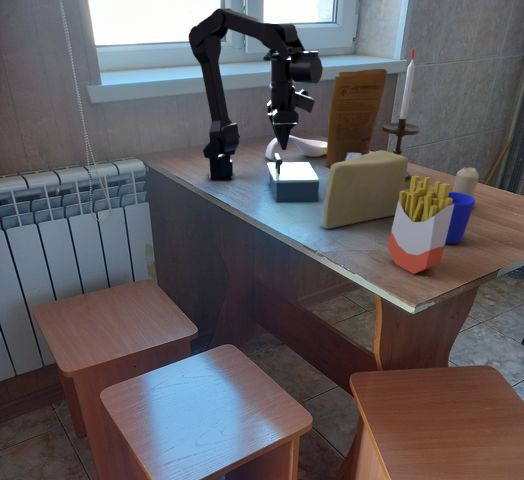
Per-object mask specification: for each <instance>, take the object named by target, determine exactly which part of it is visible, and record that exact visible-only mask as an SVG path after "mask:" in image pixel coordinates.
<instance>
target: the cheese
mask: <svg viewBox="0 0 524 480" xmlns="http://www.w3.org/2000/svg"><path fill="white" fill-rule="evenodd" d="M408 164H409V159H408V157H406V156H404V155H402V154H401V155H398V154H394V153H393V152H391V151H388V150H376V151H372V152H369V154H365V155H362V156H359V157H356V158H353V159H350V160H346V161H343V162H338V163H335V164H333V165H332V166H331V167H330V168H329V173H328V177H327V178H328V179H327V184H326V190H325V195H324V196H325V197H324V204H323V213H322V214H323V215H322V216H323V217H322V228H324V229H326V230H330V229H335V228H340V227H344V226H348V225H353V224H357V223H362V222H367V221H372V220H377V219H382V218H388V217H393V216H394V217H395V213H396V209H397V205H398V200H399V195H400V191H403V190H404V187H405V182H406V180H405V177H406V172H407V171H408V166H409V165H408Z"/></svg>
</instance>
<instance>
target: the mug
mask: <svg viewBox="0 0 524 480" xmlns="http://www.w3.org/2000/svg"><path fill="white" fill-rule="evenodd" d="M449 197H450V198H452V199H453V201H452V203H453V204H454V208H453V212H452V216H451V220H450V225H449V229H448V233H447V237H446V241H445V245H455V244H458V243H459V242H461V241H462V239H463V238H464V235H465V232H466V229H467V227H468V223H469V221H470V218H471V214H472V211H473V209H474V206H475V203H476V199H475V198H474V197H471V196H469V195H466V194H463V193H457V192H453V191H449V195H448V198H449Z"/></svg>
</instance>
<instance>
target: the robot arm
mask: <svg viewBox="0 0 524 480" xmlns="http://www.w3.org/2000/svg"><path fill="white" fill-rule="evenodd" d="M229 30H230V31H233V32H236V33H239V34H242V35H244V36H248V37H250V38H253V39H256V40H258V41H259V42H260V43H261V44H262V46H264V47H265V48H266V49H269V50H268V51H267V53H266V54H265V55H264V56H263V58H262V60H263V61H264V62H270V84H269V90H270V100H269V101H268V103H267V104H266V112H267V116H268V119H269V122H270V124H271V128H272V130H273V133H274V135H275V138H277V141H278V144H279V145H280V149H281V150H282V151H287V147H288V143H289V140H288V139H289V135H290V134H291V130H292V129H293V128H294V127H295V126H297V125H298V123H299V117H300V116H299V113H298V112H297V111H296V108H298V109H301V110H304V111H306V112H307V113H310V114H311V113H312V111H313V109H314V106H315V104H316V99H315V98H313V97H312V96H309V92H308V90H305V89H303V88H302V89H301V90H300V91H299V92H298V91H296V87H295V86H294V82H295V83H300V84H301V83H302V84H318V83H319V82H320V81H321V79H322V76H323V71H324V70H323V69H324V67H323V63H322V60H321V58H320V57H319V51H318V50H312V51H307V50H306V49H305V46H304V45H303V43H302V41H301V39H300V38H299V36H298V30H297V28H296V25H295V24H293V23H292V22H285V21H267V20H263V19H259V18H257V17H254V16H250V15H248V14H245V13H241V12H239V11H236V10H233V9H231V8H229V7H221V8H220V7H219V8H216V9H215V10H214V11H213V12H212V13H211V14H210V15H209V16H207V17H206V18H204V19H203V20H201V21H200V22H199V23H198V24H197V25H193V27H191V29H190V31H189V33H188V42H189V46H190V48H191V53H192V55H193V56H194V58H195V59H196V61H197V62H198V64H199V65H200V68H201V73H202V78H203V83H204V88H205V94H206V99H207V104H208V110H209V114H210V119H211V123H210V126H209V127H210V128H209V131H208V137H209V142H208V143H207V144H206V146H205V147H204V148H203V149H202V152H203V157H204V158H205V159H209V180H210V181H219V180H220V181H222V180H223V181H225V180H227V181H231V180H232V177H233V175H234V168H233V167H234V166H233V165H234V163H233V160H232V159H231V158H232V157H231V156H233V155H235V154H236V151H237V148H238V146H239V145H240V139H241V135H240V133H239V125H238V123H236V122H235V123H233V122H232V120H231V119H230V117H229V111H228V106H227V102H226V97H225V96H226V95H225V90H224V85H223V79H222V73H221V69H220V63H219V60H220V56H221V52H222V40H223V39H224V38H225V37H226V36H227V34H228V32H229Z"/></svg>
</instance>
